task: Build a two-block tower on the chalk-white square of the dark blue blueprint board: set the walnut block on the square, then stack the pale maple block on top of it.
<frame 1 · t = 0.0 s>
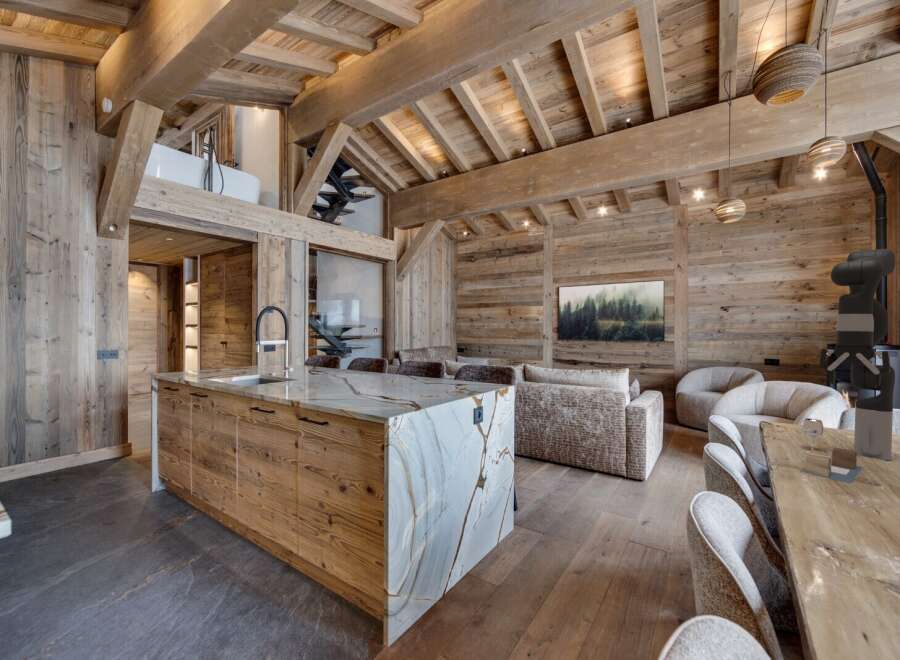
hand: (852, 385, 115), 29 cm above the table, tool pointing down, fingers open, 8 cm apart
maple block: (818, 472, 122), point 1 cm above the table, touching blueprint board
blueprint board: (832, 472, 125), on the table
wineglass: (812, 452, 146), on the table
walnut block: (844, 465, 129), point 1 cm above the table, touching blueprint board
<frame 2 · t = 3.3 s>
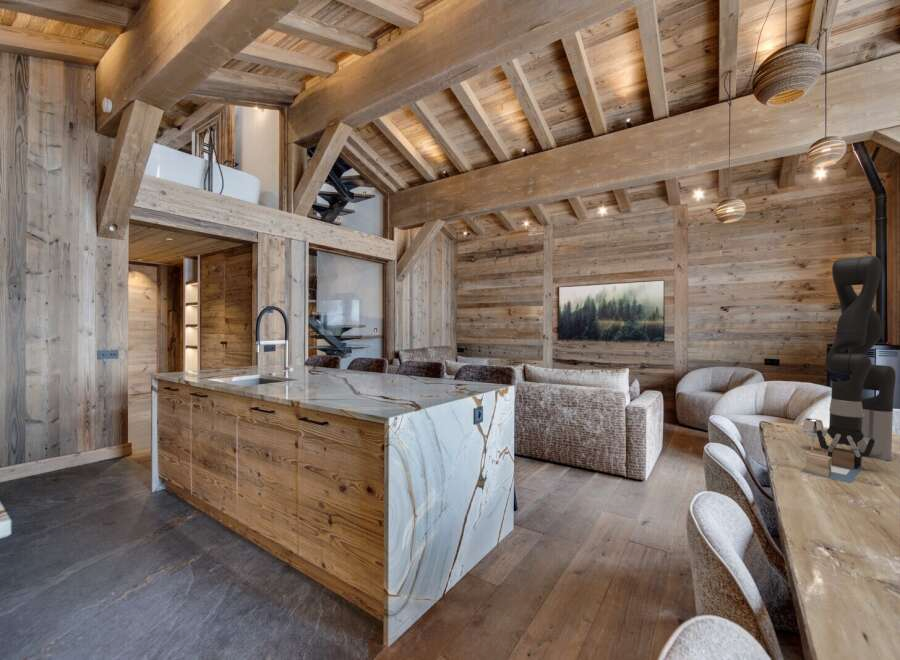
hand: (843, 465, 129), 1 cm above the table, tool pointing down, fingers closed on walnut block, 5 cm apart
walnut block: (844, 465, 129), point 1 cm above the table, touching blueprint board, gripper
everything else where it was.
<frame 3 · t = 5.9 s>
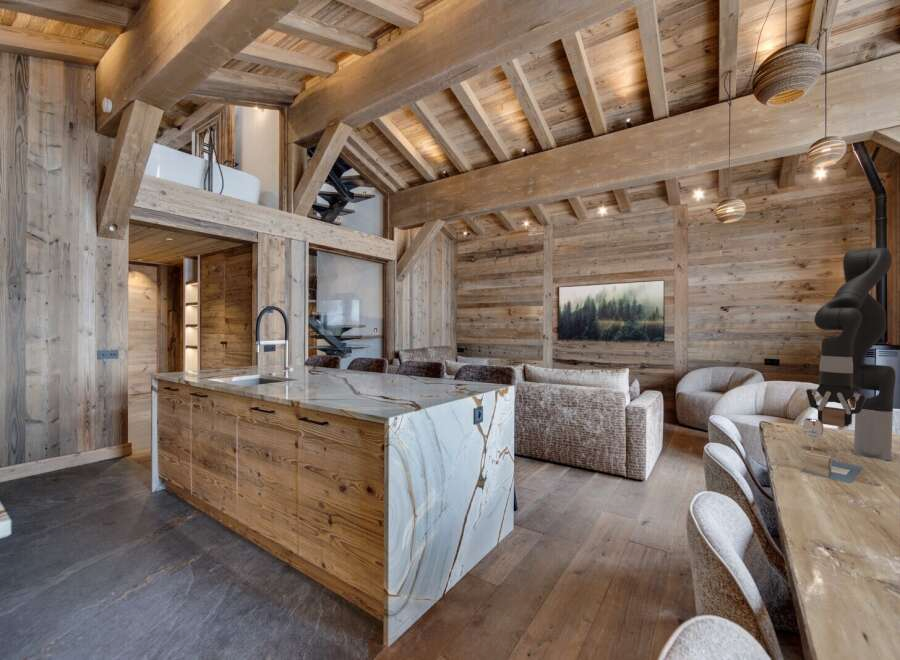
hand: (834, 423, 125), 16 cm above the table, tool pointing down, fingers closed on walnut block, 5 cm apart
walnut block: (834, 424, 125), point 15 cm above the table, touching gripper
everything else where it was.
when the fingers open (2 cm above the table, at t = 8.6 s): walnut block drops 1 cm, resting on blueprint board.
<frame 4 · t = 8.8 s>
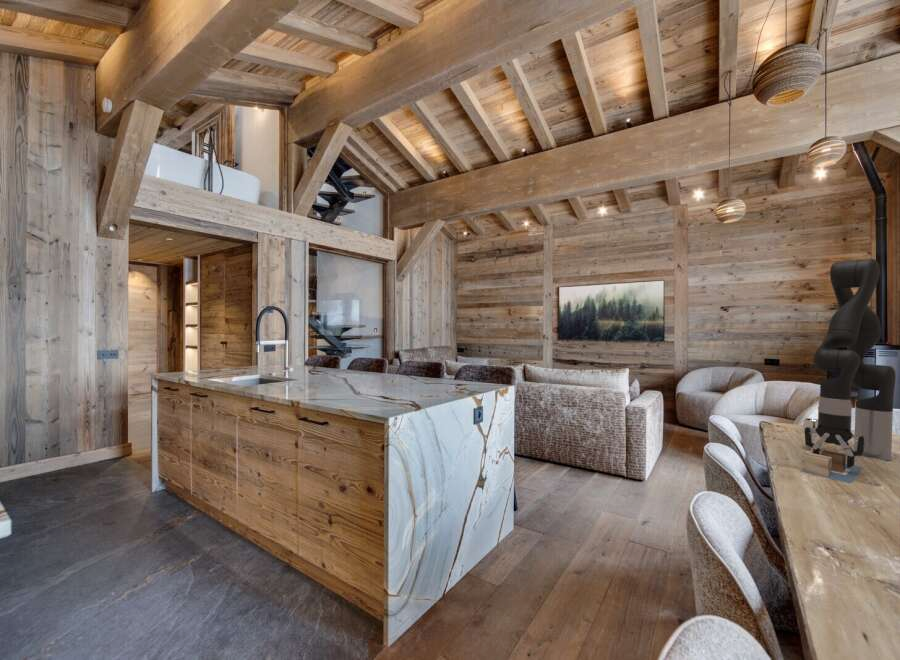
hand: (832, 463, 125), 3 cm above the table, tool pointing down, fingers open, 6 cm apart
walnut block: (832, 469, 125), point 1 cm above the table, touching blueprint board
everything else where it was.
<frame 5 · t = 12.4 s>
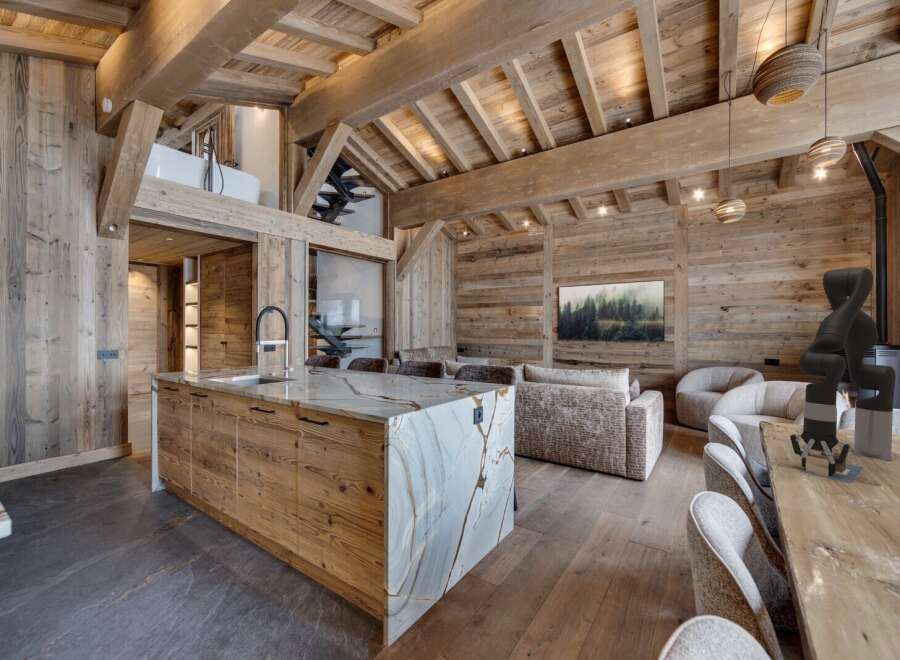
hand: (818, 471, 122), 1 cm above the table, tool pointing down, fingers closed on maple block, 5 cm apart
maple block: (818, 472, 122), point 1 cm above the table, touching blueprint board, gripper
everything else where it was.
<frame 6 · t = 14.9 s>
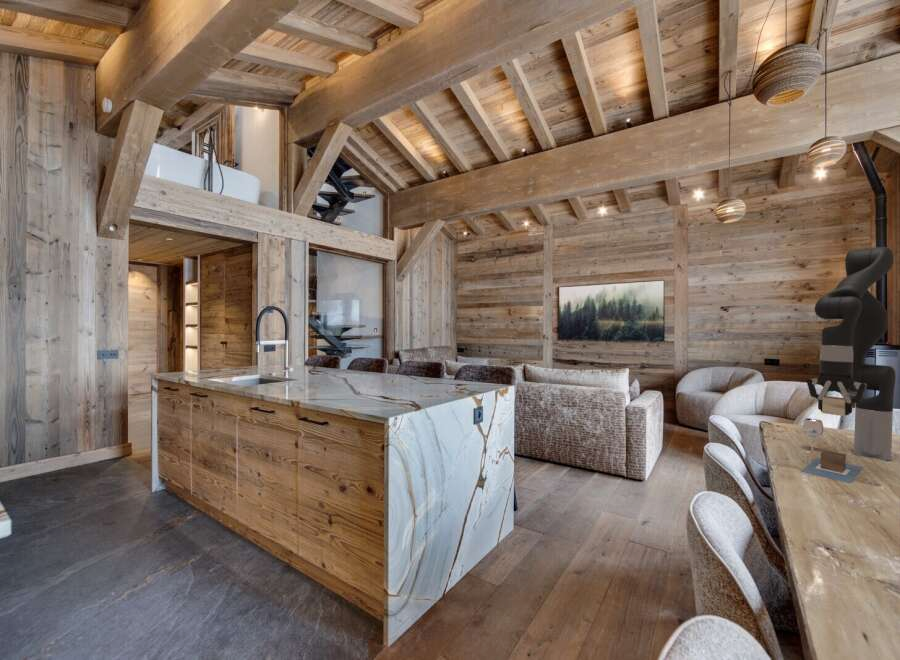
hand: (834, 412, 125), 19 cm above the table, tool pointing down, fingers closed on maple block, 5 cm apart
maple block: (834, 413, 125), point 19 cm above the table, touching gripper
everything else where it was.
when the fingers open (7 cm above the table, at t = 17.4 s): maple block drops 1 cm, resting on walnut block.
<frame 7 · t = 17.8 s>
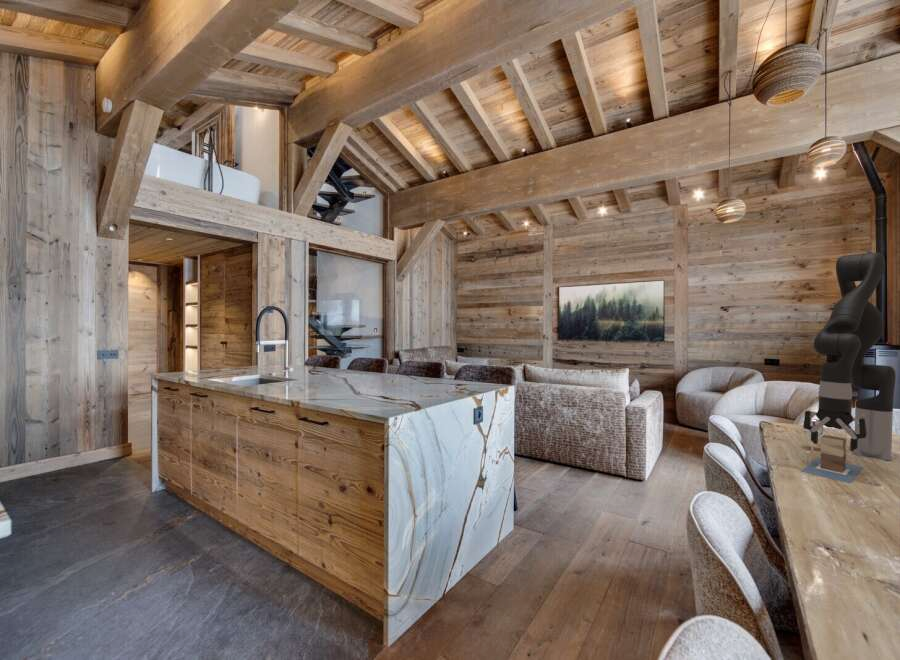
hand: (833, 446, 125), 8 cm above the table, tool pointing down, fingers open, 8 cm apart
maple block: (833, 453, 125), point 6 cm above the table, touching walnut block
walnut block: (832, 469, 125), point 1 cm above the table, touching blueprint board, maple block
everything else where it was.
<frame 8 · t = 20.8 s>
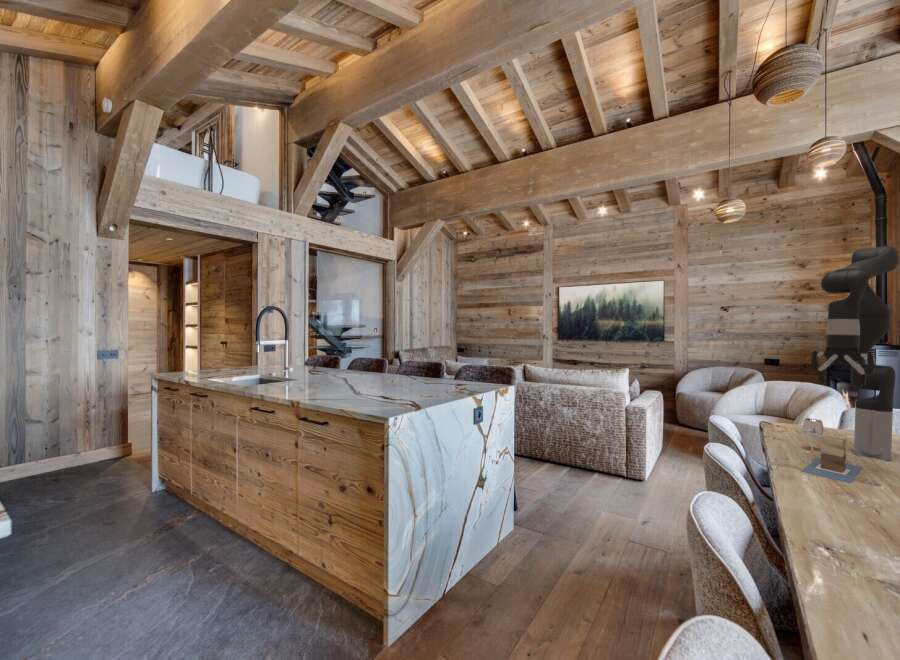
hand: (841, 384, 125), 28 cm above the table, tool pointing down, fingers open, 8 cm apart
nothing on the table moved.
at the end: walnut block 0.1 cm off-centre on the blueprint board, point 1.1 cm above the blueprint board's base; maple block 0.1 cm off-centre on the walnut block, point 5.0 cm above the walnut block's base; maple block tilted 0° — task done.
